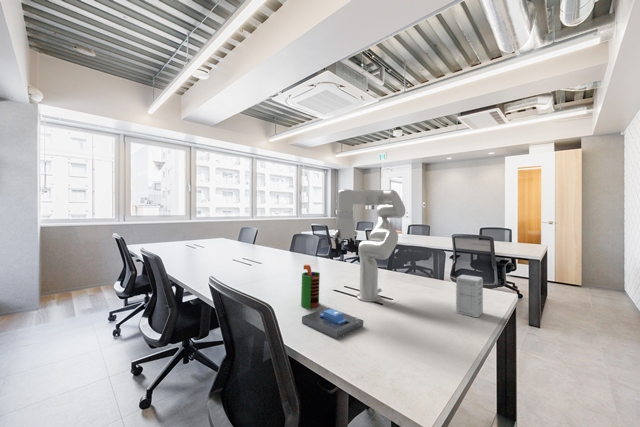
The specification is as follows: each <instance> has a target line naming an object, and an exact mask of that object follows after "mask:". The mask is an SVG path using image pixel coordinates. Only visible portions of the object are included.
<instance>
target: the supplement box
mask: <svg viewBox="0 0 640 427" xmlns="http://www.w3.org/2000/svg"><path fill="white" fill-rule="evenodd" d="M483 281H484V279H483V277H481V276H475V275H468V274H467V275H466V274H461V275H459V276H457V277H456V282H455V283H456V285H455V289H456V290H455V295H456V297H455V298H456V299H455V306H456V307H455V312H456V313H457V314H459V315H463V316H469V317H473V318H476V317H477V318H479V317H480V316H481V315H482V314H484V311H483V310H484V308H483V307H484V306H483V305H484V303H483V301H484V300H483V299H484V298H483V296H484V290H483V289H484V286H483V285H484V282H483Z"/></svg>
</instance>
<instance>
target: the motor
mask: <svg viewBox="0 0 640 427" xmlns="http://www.w3.org/2000/svg"><path fill="white" fill-rule="evenodd" d="M303 270H306V272H302V273H301V291H300V292H301V294H300V296H301V297H300V298H301V299H300V307H302V308H304V309H312V308H313V309H315V308H318V307H320V274H321V273H320V272H318V271H312V268H311V265H309V264H304V265H303Z"/></svg>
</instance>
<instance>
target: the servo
mask: <svg viewBox="0 0 640 427" xmlns="http://www.w3.org/2000/svg"><path fill="white" fill-rule="evenodd" d="M333 309H334V308H331V309H329V310H326V311H323V313H322V314H320V316H321V317H323V319H324V320H326V321H328V322H331V323H333V324H340V325H342V326H343V325H345V324H344V322H347V320H346V319H344V318H343V313H344V312H342V311H339V310H337V309H334V310H333ZM336 310H337V311H336ZM338 311H339V312H338ZM341 312H342V313H341Z"/></svg>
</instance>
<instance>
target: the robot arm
mask: <svg viewBox="0 0 640 427" xmlns="http://www.w3.org/2000/svg"><path fill="white" fill-rule="evenodd" d="M355 206H377V208H376V219H377V221H376V222H377V223H376V224H375V226H374V227H373V228H372V230H371V231H370V234H369V236H368V239H364V240H361V241H360V242H359V244H358V255H359V293H358V294H357V295H356V298H357V299H358V300H360V301H363V302H367V303H368V302H372V303H373V302H378V301H380V300H381V295H380V294H379V293H381V292H382V291H383V290H382V289H381V288H379V287H378V280H379V278H378V276H379V266H378V263H377V260H382V261H383V260H384V261H385V260H388V259H389V257H390V256H391V255H392V253H393V252H394V249H395V248H396V246H397V244H398V241H399V233H398V231H397V230H396V229H395V228H392V226H391V222H390V221H389V220H388V219H401V218H403V217H404V216H405V215H406V207H405V205H404V202H403V201H402V198H401V197H400V195H399V193H398V192H397V191H396V190H394V189H363V190H361V189H346V188H345V189H340V190H338V192H337V217H336V221H335V227H334V232H333V233H332V234H331V236H332V238H333V239H332V240H333V241H334V243H335V252H338V253H339V252H340V253H341V252H342V240H349V241H348V250H351V251H354V250H356V248H355V246H356V243H355V242H356V240H357V236H358V232H357V230H356V228H355V227H356V226H355V219H354V207H355Z"/></svg>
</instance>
